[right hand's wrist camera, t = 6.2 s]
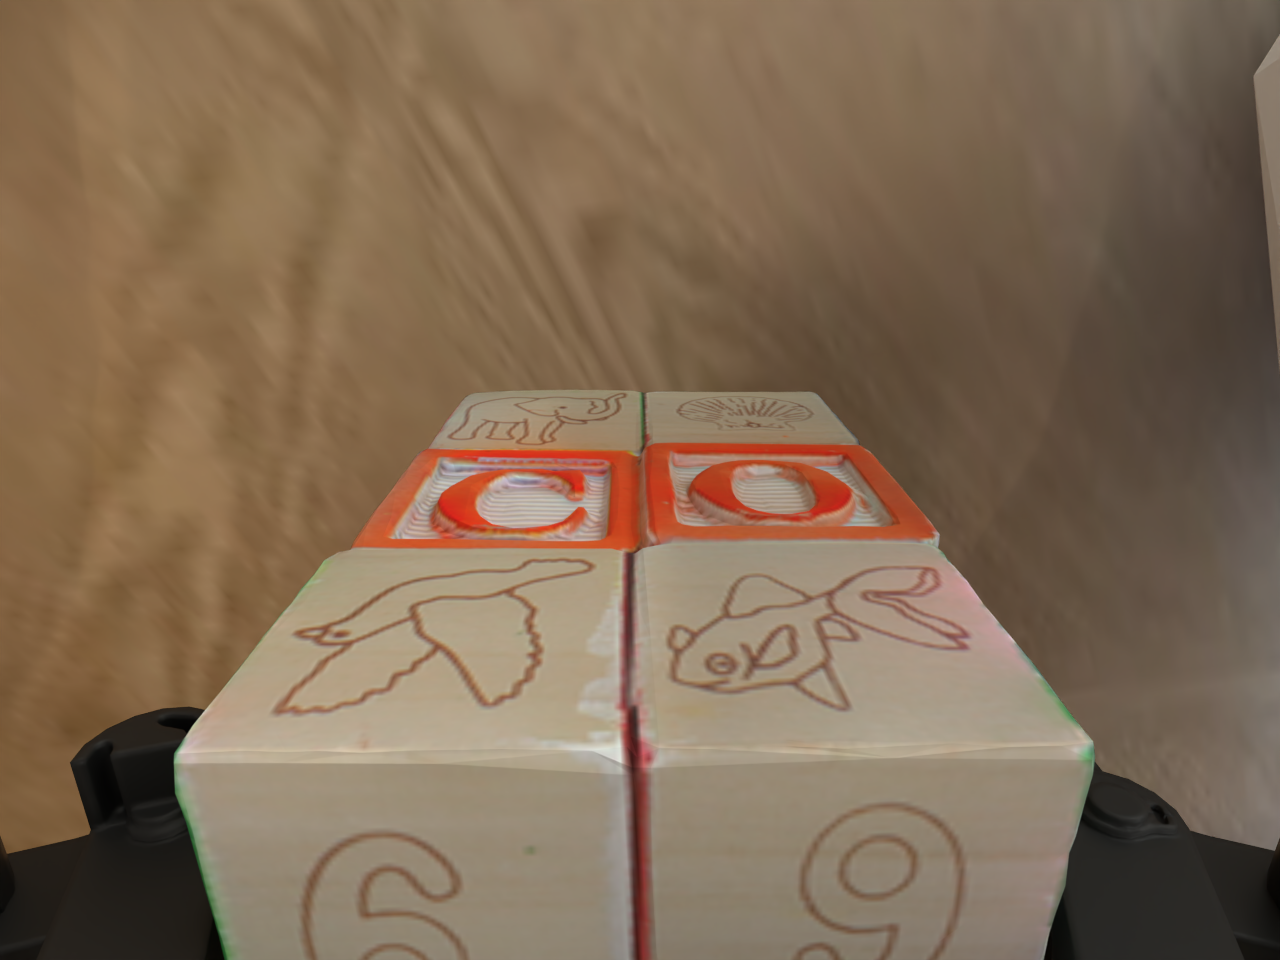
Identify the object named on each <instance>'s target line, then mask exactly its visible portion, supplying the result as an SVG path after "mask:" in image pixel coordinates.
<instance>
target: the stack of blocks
mask: <svg viewBox="0 0 1280 960" xmlns="http://www.w3.org/2000/svg"><path fill="white" fill-rule="evenodd" d="M939 537H940V535H939V533H938V532H937V530H936V529H935V528H934V526H933V525H932V523H931V522H930V521H929V520H928V518H927V517H926V516H925V515H924V514H923V513H922V511H921V510H920V509H919V508H918V507H917V505H916V504H915V503H914V502H913V501H912V500H911V498H910V497H909V496H908V495H907V494H906V492H905V491H904V490H903V489H902V487H901V486H900V485H899V484H898V483H897V482H896V480H895V479H894V478H893V477H892V476H891V475H890V474H889V473H888V472H887V471H886V469H885V468H884V467H883V466H882V465H881V464H880V463H879V461H878V460H877V459H876V458H875V457H874V456H873V454H872V453H871V452H870V451H868V450H867V449H865V448H863V447H862V446H860V444H859V441H858V439H857V438H856V437H855V436H854V435H853V434H852V433H851V431H850V430H849V429H848V428H847V427H846V426H845V425H844V424H843V423H842V422H841V420H840V419H839V418H838V417H837V415H836V414H834V413H833V412H832V411H831V410H830V408H829V407H828V406H827V405H826V404H825V402H824V401H823V400H822V399H821V398H820V397H819V396H818V394H816V393H813V392H649V393H642V392H637V391H620V390H531V391H500V392H484V393H473V394H471V395H468V396H466V397H465V398H464V399H463V400H462V402H461V403H460V404H459V405H458V406H457V408H456V409H455V410H454V411H453V413H452V414H451V415H450V416H449V418H448V419H447V420H446V422H445V423H444V425H443V427H442V428H441V430H440V431H439V433H438V434H437V435H436V436H435V438H434V441H433V442H432V443H431V445H430V446H429V447H428V449H426V450H424V451H422V452H419V453H418V455H417V456H416V457H415V458H414V459H413V461H412V462H411V464H410V465H409V467H408V468H407V470H406V471H405V472H404V473H403V474H402V476H401V477H400V478H399V480H398V481H397V483H396V484H395V486H394V487H393V489H392V490H391V491H390V493H389V494H388V495H387V496H386V498H385V499H384V500H383V501H382V502H381V504H380V505H379V506H378V507H377V509H376V510H375V511H374V512H373V514H372V515H371V517H370V518H369V520H368V521H367V523H366V524H365V525H364V527H363V528H362V530H361V531H360V533H359V534H358V536H357V537H356V539H355V540H354V542H353V544H352V547H351V549H350V550H348V551H342V552H338V553H336V554H335V555H333V556H331V557H329V558H328V559H326V560H324V562H323V563H322V564H321V566H320V567H319V569H318V570H317V571H316V573H315V574H314V575H313V576H312V577H311V578H310V579H309V581H308V582H307V583H306V584H305V585H304V586H303V587H302V588H301V590H300V591H299V593H298V595H297V596H296V598H295V599H294V601H293V602H292V603H291V604H290V605H289V606H288V607H287V608H286V609H285V610H284V611H283V612H282V614H281V615H280V616H279V618H278V619H277V620H276V621H275V623H274V624H273V625H272V627H271V628H270V629H269V630H268V631H267V632H266V633H265V635H264V636H263V638H262V639H261V640H260V642H259V643H258V644H257V646H256V647H255V649H254V650H253V651H252V652H251V654H250V655H249V656H248V657H247V659H246V660H245V661H244V663H243V664H242V665H241V666H240V668H239V669H238V670H237V671H236V673H235V674H234V675H233V676H232V678H231V679H230V680H229V682H228V683H227V684H226V685H225V687H224V688H223V689H222V690H221V692H220V693H219V694H218V695H217V697H216V698H215V699H214V700H213V701H212V703H211V704H210V705H209V706H208V707H207V709H206V710H205V711H204V712H203V714H202V715H201V716H200V717H199V718H198V720H197V721H196V722H195V723H194V725H193V726H192V727H191V729H190V730H189V732H188V733H187V735H186V736H185V738H184V739H183V741H182V743H181V744H180V746H179V747H178V749H177V750H176V752H175V753H174V778H175V794H176V797H177V799H178V802H179V805H180V807H181V810H182V813H183V815H184V818H185V821H186V823H187V827H188V831H189V834H190V838H191V841H192V845H193V848H194V852H195V855H196V859H197V862H198V866H199V870H200V873H201V877H202V880H203V884H204V887H205V890H206V894H207V897H208V901H209V904H210V907H211V911H212V914H213V917H214V921H215V924H216V928H217V931H218V934H219V938H220V942H221V947H222V951H223V955H224V959H225V960H1044V956H1045V951H1046V946H1047V942H1048V937H1049V932H1050V929H1051V926H1052V923H1053V920H1054V916H1055V913H1056V911H1057V908H1058V905H1059V902H1060V899H1061V897H1062V894H1063V891H1064V888H1065V885H1066V876H1067V867H1068V859H1069V852H1070V850H1071V847H1072V845H1073V842H1074V840H1075V837H1076V834H1077V830H1078V826H1079V823H1080V819H1081V815H1082V811H1083V808H1084V804H1085V800H1086V797H1087V793H1088V790H1089V786H1090V783H1091V780H1092V776H1093V769H1094V761H1095V752H1094V744H1093V741H1092V740H1091V738H1090V737H1089V736H1088V735H1087V734H1086V732H1085V731H1084V730H1083V729H1082V728H1081V726H1080V725H1079V724H1078V723H1077V721H1076V720H1075V719H1074V718H1073V717H1072V715H1071V714H1070V712H1069V711H1068V710H1067V708H1066V707H1065V706H1064V704H1063V703H1062V702H1061V700H1060V699H1059V698H1058V696H1057V695H1056V693H1055V692H1054V691H1053V689H1052V688H1051V687H1050V685H1049V684H1048V683H1047V681H1046V680H1045V679H1044V677H1043V676H1042V675H1041V673H1040V672H1039V670H1038V669H1037V668H1036V666H1035V665H1034V664H1033V663H1032V661H1031V660H1030V659H1029V658H1028V657H1027V655H1026V654H1025V653H1024V652H1023V651H1022V649H1021V648H1020V647H1019V646H1018V645H1017V643H1016V642H1015V641H1014V640H1013V639H1012V637H1011V636H1010V635H1009V634H1008V633H1007V631H1006V630H1005V629H1004V628H1003V627H1002V626H1001V624H1000V623H999V622H998V621H997V620H996V618H995V617H994V616H993V615H992V614H991V613H990V611H989V610H988V609H987V608H986V607H985V605H984V604H983V603H982V601H981V600H980V599H979V597H978V596H977V594H976V593H975V591H974V590H973V589H972V587H971V586H970V584H969V583H968V582H967V580H966V579H965V578H964V577H963V576H962V575H961V574H960V572H959V571H958V570H957V569H956V568H955V567H954V566H953V565H952V564H951V563H950V562H949V561H948V560H947V558H946V556H945V555H944V553H943V552H942V551H940V550H939V549H938V545H939Z"/></svg>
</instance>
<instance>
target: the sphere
mask: <svg viewBox="0 0 1280 960" xmlns="http://www.w3.org/2000/svg"><path fill="white" fill-rule="evenodd" d="M1253 78H1254V89H1255V101H1256V112H1257V123H1258V135H1259V146H1260V157H1261V169H1262V180H1263V191H1264V202H1265V214H1266V225H1267V236H1268V248H1269V259H1270V270H1271V281H1272V293H1273V304H1274V315H1275V327H1276V338H1277V349H1278V361H1279V372H1280V35H1279V36H1278V38H1277V39H1276V41H1275V43H1274V44H1273V46H1272V47H1271V49H1270V50H1269V52H1268V54H1267V55H1266V57H1265V58H1264V60H1263V62H1262V63H1261V65H1260V66H1259V68H1258V70H1257V71H1256V73H1255V74H1254V76H1253Z"/></svg>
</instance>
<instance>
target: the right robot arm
mask: <svg viewBox="0 0 1280 960" xmlns="http://www.w3.org/2000/svg"><path fill="white" fill-rule="evenodd" d="M204 711H205V710H203V709H198V708H193V707H178V708H164V709H160V710H156V711H152V712H148V713H145V714H141V715H137V716H134V717H132V718H130V719H127V720H125V721H123V722H121V723H119V724H116V725H114V726H112V727H110V728H108V729H106V730H105V731H103V732H102V733H100V734H99V735H98V736H96V737H95V738H93V739H92V740H91V741H89V742H88V743H86V744H85V745H84V746H83V747H82V748H81V750H80V751H79V752H78V753H77V755H76V756H75V757H74V758H73V760H72V761H71V762H70V764H71V767H72V771H73V774H74V777H75V780H76V783H77V787H78V790H79V793H80V796H81V800H82V803H83V806H84V809H85V812H86V816H87V819H88V822H89V825H90V828H91V831H90V834H89V835H86V836H82V837H79V838H75V839H71V840H67V841H63V842H58V843H54V844H49V845H45V846H41V847H36V848H32V849H27V850H23V851H18V852H14V853H10V854H7V853H6V851H5V848H4V845H3V842H2V840H1V837H0V960H225V959H224V955H223V951H222V947H221V942H220V938H219V934H218V931H217V928H216V924H215V921H214V917H213V914H212V911H211V907H210V904H209V901H208V897H207V894H206V890H205V887H204V884H203V880H202V877H201V873H200V870H199V866H198V862H197V859H196V855H195V852H194V848H193V845H192V841H191V838H190V834H189V831H188V827H187V823H186V821H185V818H184V815H183V813H182V810H181V807H180V805H179V802H178V799H177V797H176V794H175V778H174V753H175V752H176V750H177V749H178V747H179V746H180V744H181V743H182V741H183V739H184V738H185V736H186V735H187V733H188V732H189V730H190V729H191V727H192V726H193V725H194V723H195V722H196V721H197V720H198V718H199V717H200V716H201V715H202V714H203V712H204ZM1044 960H1280V839H1279V842H1278V844H1277V847H1276V850H1275V851H1273V850H1268V849H1264V848H1259V847H1255V846H1251V845H1246V844H1242V843H1237V842H1233V841H1228V840H1224V839H1220V838H1215V837H1211V836H1207V835H1203V834H1200V833H1196V832H1193V831H1190V830H1189V828H1188V827H1187V825H1186V824H1185V822H1184V821H1183V819H1182V818H1181V817H1180V815H1179V814H1178V812H1177V811H1176V810H1175V809H1174V808H1173V807H1172V806H1170V805H1169V804H1168V803H1167V802H1165V801H1164V800H1163V799H1162V798H1160V797H1159V796H1158V795H1157V794H1156V793H1154V792H1152V791H1150V790H1148V789H1146V788H1144V787H1143V786H1141V785H1139V784H1137V783H1135V782H1133V781H1131V780H1129V779H1126V778H1123V777H1120V776H1116V775H1113V774H1110V773H1106V772H1103V771H1102V770H1101V769H1100V768H1099V766H1098V765H1097V764H1096V763H1095V761H1094V769H1093V776H1092V780H1091V783H1090V786H1089V790H1088V793H1087V797H1086V800H1085V804H1084V808H1083V811H1082V815H1081V819H1080V823H1079V826H1078V830H1077V834H1076V837H1075V840H1074V842H1073V845H1072V847H1071V850H1070V852H1069V859H1068V867H1067V876H1066V885H1065V888H1064V891H1063V894H1062V897H1061V899H1060V902H1059V905H1058V908H1057V911H1056V913H1055V916H1054V920H1053V923H1052V926H1051V929H1050V932H1049V937H1048V942H1047V946H1046V951H1045V956H1044Z"/></svg>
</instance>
